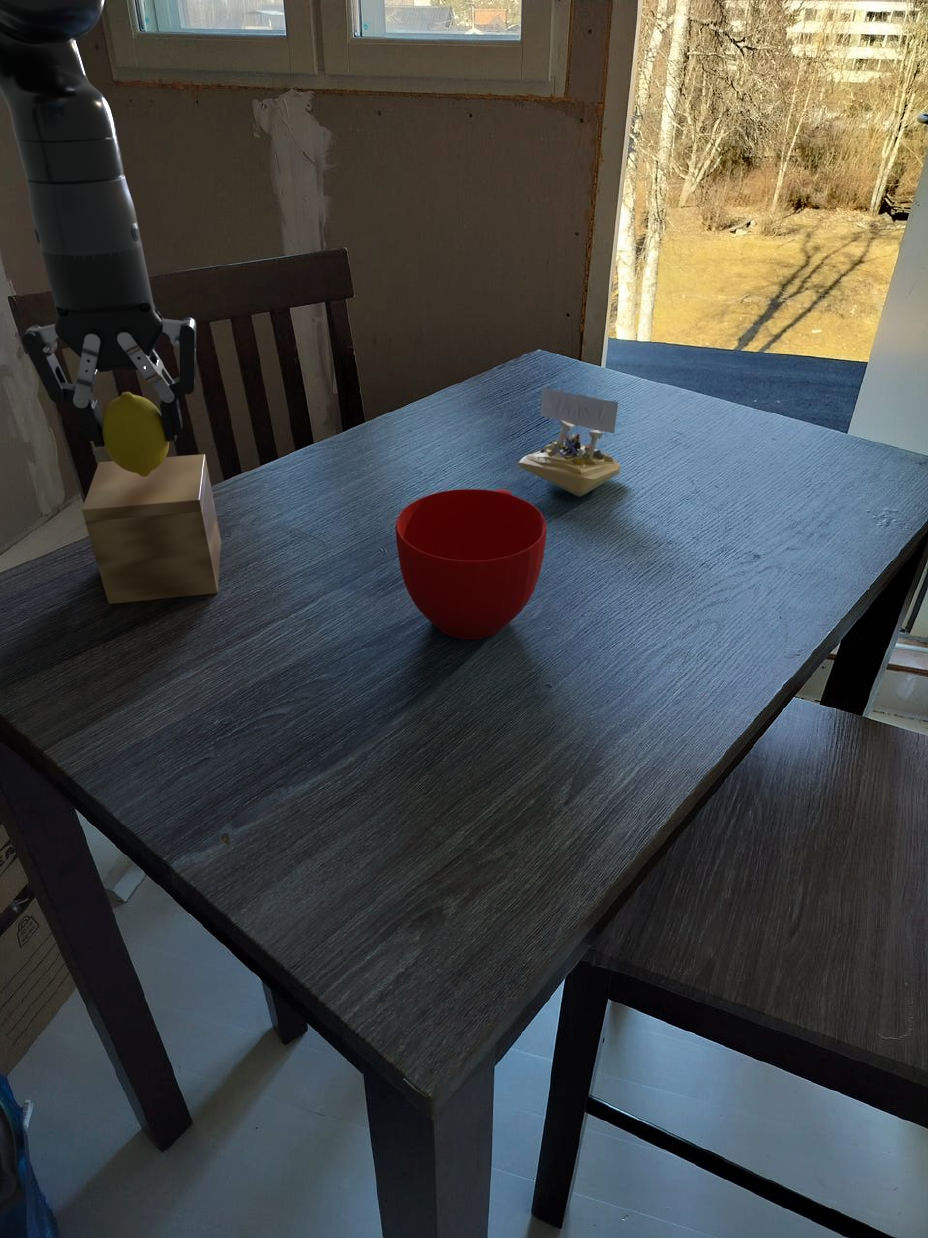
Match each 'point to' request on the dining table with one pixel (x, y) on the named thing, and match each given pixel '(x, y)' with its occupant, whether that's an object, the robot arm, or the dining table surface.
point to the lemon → (134, 434)
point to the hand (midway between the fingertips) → (136, 440)
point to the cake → (575, 443)
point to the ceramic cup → (470, 558)
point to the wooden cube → (154, 530)
